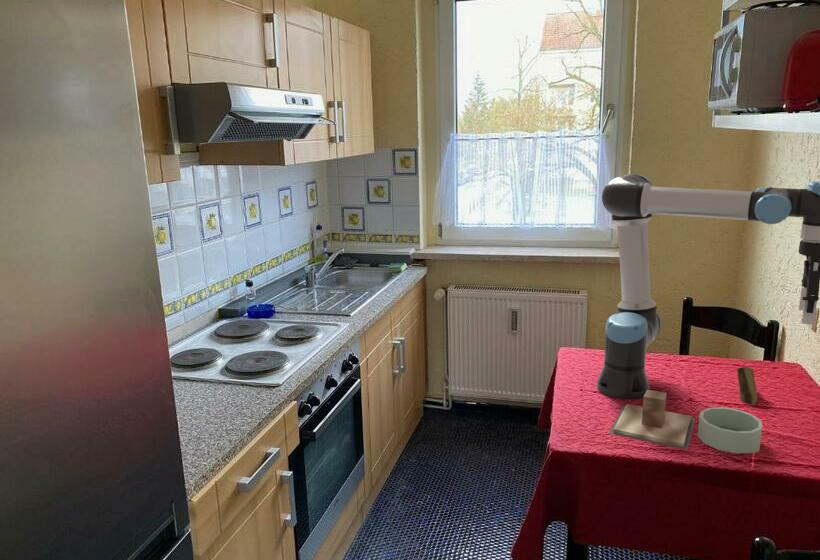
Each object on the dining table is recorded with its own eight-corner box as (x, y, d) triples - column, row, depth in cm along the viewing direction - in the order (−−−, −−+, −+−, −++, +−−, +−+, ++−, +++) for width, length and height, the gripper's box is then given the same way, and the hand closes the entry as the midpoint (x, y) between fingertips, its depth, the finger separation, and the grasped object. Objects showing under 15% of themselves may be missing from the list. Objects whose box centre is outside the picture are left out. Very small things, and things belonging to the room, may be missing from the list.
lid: (613, 432, 162) (615, 400, 160) (626, 407, 176) (628, 377, 174) (683, 447, 153) (686, 414, 151) (691, 419, 168) (693, 388, 165)
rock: (741, 378, 189) (720, 381, 184) (761, 362, 183) (740, 364, 179) (764, 409, 183) (743, 412, 178) (786, 393, 177) (764, 396, 172)
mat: (608, 435, 161) (608, 433, 161) (623, 407, 177) (623, 405, 177) (687, 452, 152) (687, 449, 152) (695, 420, 168) (695, 418, 168)
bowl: (695, 447, 154) (697, 425, 153) (700, 424, 166) (702, 403, 165) (759, 460, 147) (761, 437, 146) (760, 435, 159) (762, 414, 158)
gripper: (839, 250, 151) (826, 332, 156) (829, 234, 172) (818, 306, 177) (803, 247, 154) (791, 328, 159) (797, 232, 175) (787, 303, 180)
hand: (805, 317), depth 168 cm, fingers open, 13 cm apart
